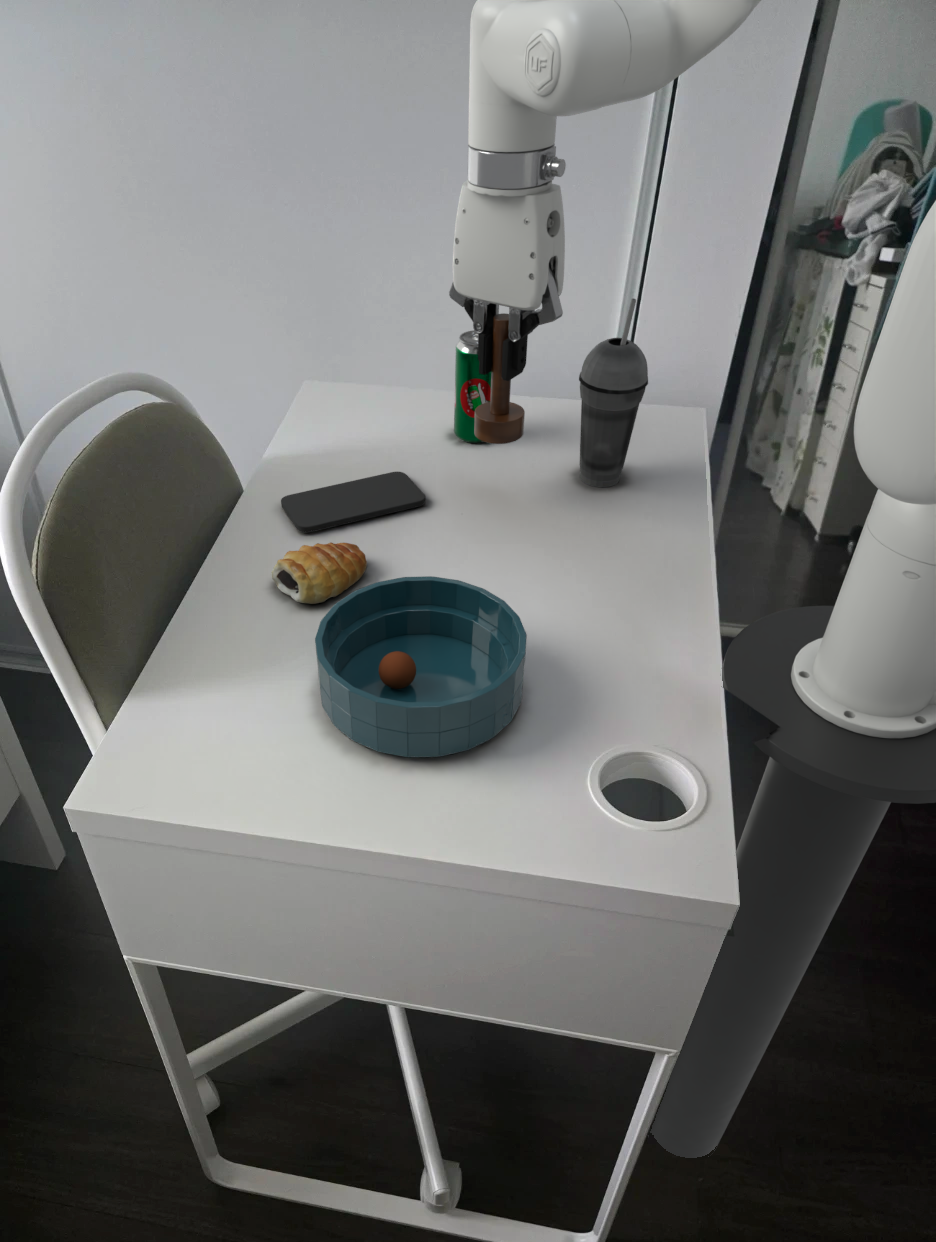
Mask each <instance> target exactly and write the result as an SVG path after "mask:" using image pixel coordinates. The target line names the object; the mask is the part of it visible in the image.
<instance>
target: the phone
mask: <svg viewBox="0 0 936 1242" xmlns="http://www.w3.org/2000/svg"><path fill="white" fill-rule="evenodd" d="M280 503H281V504H280V505H281V508H282V510H283V512H284V513H285V515H286V516H287V517H288V519H289V520H290V522H291V524H292V525H293V526H294V528H295V529H296V530H297V531H298V532H300V533H313V532H317V531H321V530H325V529H330V528H333V527H338V526H342V525H347V524H351V523H355V522H360V521H363V520H368V519H372V518H377V517H381V516H385V515H389V514H393V513H398V512H403V511H406V510H410V509H415V508H419V507H422V506H423V505H425V503H426V494H425V493H424V492H423V491H422V489H420V488H419V486H418V485H417V484H416V483H415V482H414V481H413V480H412V479H411V477H409V475H408V474H407V473H405V472H403V471H390V472H387V473H381V474H377V475H372V476H368V477H364V478H360V479H355V480H350V481H345V482H341V483H336V484H332V485H328V486H327V485H326V486H324V487H319V488H314V489H309V490H305V491H300V492H296V493H291V494H288V495H285V496H283V497H282V498H280Z"/></svg>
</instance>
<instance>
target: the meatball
mask: <svg viewBox="0 0 936 1242" xmlns="http://www.w3.org/2000/svg"><path fill="white" fill-rule="evenodd" d="M415 675H416V665H415V662H414V660H413V659H412V658H411V657H410V656H409V655H408V654H406V653H404V652H400V651H395V652H391V653H389V654H387V655H386V656H385V657H384V658H383V659H382V660H381V662H380V665H379V676H380V678H381V680H382V682H383V683H384V684H385V685H387V686H388V687H390V688H393V689H402V688H405V687H407V686H408V685H410V684H411V683H412V681H413V680H414V678H415Z"/></svg>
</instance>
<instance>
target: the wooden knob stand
mask: <svg viewBox="0 0 936 1242" xmlns="http://www.w3.org/2000/svg"><path fill="white" fill-rule="evenodd" d="M508 330H509V313H503V312H502V313H499V314H497V315H495V316H494V319H493V346H492V373H491V400H490V402H487V403H484V404H481V405H479V406H478V407H477V408H476V409H475V422H474V434H475V436H476V437H477V438H478V439H480V440H481V441H484V442H483V443H487V444H493V445H505V444H511V443H515V442H517V441H518V440H520V439H521V438H522V437H523V436H524V428H525V416H526V411H525V408H523V406H521V405H520V404H518V403H515V402H511V388H512V387H511V385H512V379H511V380H509V381H505V380H503V378H502V377H501V376H502V352H503V342H504V340H506V339H508V338H509V336H508Z"/></svg>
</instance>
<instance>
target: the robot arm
mask: <svg viewBox="0 0 936 1242" xmlns="http://www.w3.org/2000/svg"><path fill="white" fill-rule="evenodd" d="M761 1H762V0H476V1H475V2H474V5H473V7H472V10H471V14H470V19H469V20H470V23H469V68H468V69H469V72H468V73H469V74H468V77H469V79H468V127H467V128H468V131H467V132H468V133H467V134H468V135H467V140H468V141H467V179H466V180H465V181H463V182H462V185H461V189H460V193H459V198H458V204H457V209H456V216H455V223H454V224H455V225H454V235H453V245H452V246H453V247H452V283H451V285H450V289H449V291H448V296H449V298H450V299H451V300H452V301H454V302H455V303H456V304H458V305H459V306H460V307H462V308H464V311H465V312H466V314H467V315H468V317H469V318H470V320H471V321H472V327H473V330H474V331H475V332H476V333H479V336H478V360H479V373H480V374H483V375H486V374H488V373H489V372H491V371H492V346H493V319H494V316H495V315H497V314H500V312H499V311H500V306H502V307H507V308H508V314H509V330H508V336H509V338H508V339H506V340H504V342H503V352H502V376H501V377H502V378H503V380H505V381H509V380H511V381H512V380H513V379H514V378H517V376H520V375H521V374H522V373H523V372H524V370H525V368H526V365H527V357H528V356H527V353H528V341H529V340H528V339H529V338H528V337H529V335H531V334H532V333H533V332H534V330H535V329H536V328H537V327H539V326H542V325H546V324H549V323H553V322H555V321H557V320H558V319H560V318H561V317H563V314H564V311H563V307H562V302H561V299H560V296H561V295H562V293H563V289H564V282H565V281H564V279H565V259H566V258H565V257H566V255H565V254H566V248H565V247H566V244H565V243H566V238H565V237H566V236H565V234H566V232H565V215H564V203H563V197H562V196H563V195H562V189H561V185H559V184H556V183H553V181H554V179H555V177H557V178H562V177H563V176H564V174H565V172H566V168H567V167H566V166H567V164H566V160H565V159H562V158H558V156H557V155H556V153H557V146H556V133H557V120H558V119H557V117H570V116H575V115H580V114H584V113H588V112H593V111H597V110H599V109H602V108H605V107H610V106H613V105H617V104H622V103H627V102H632V101H635V100H640V99H643V98H645V97H648V96H650V95H651V94H654V93H656V92H658V91H659V90H661V89H663V88H664V87H665V86H667V85H669V84H670V83H671V82H673V81H675V80H676V79H677V78H678V77H680V76H681V75H682V74H684V73H685V72H686V71H688V70H689V69H690V68H692V67H694V65H695V64H697V63H698V62H699V61H701V60H702V59H703V58H705V57H706V56H707V55H709V54H710V53H711V52H712V51H714V50H715V49H716V48H717V47H719V46H720V45H721V44H723V43H724V42H725V41H726V40H727V39H728V38H730V36H732V35H733V34H734V33H735V32H736V31H737V30H738V29H739V28H740V27H741V26H742V25H743V23H744V22H745V21H746V20H747V19H748V17H749V16H750V15H751V14H752V12H753V11H754V9H755V8H756V7H757V6H758V5H759V4H760V2H761ZM540 307H541V308H540ZM539 308H540V309H539ZM853 442H854V449H855V453H856V457H857V460H858V463H859V465H860V467H861V469H862V470H863V472H864V474H865V475H866V477H867V479H868V480H869V481H870V482H871V483H872V485H873V486H874V487H876V488H877V491H876V494H875V496H874V498H873V501H872V504H871V507H870V510H869V512H868V514H867V517H866V519H865V522H864V523H863V524H864V525H863V528H862V530H861V532H860V536H859V538H858V540H857V544H856V547H855V549H854V552H853V555H852V557H851V560H850V562H849V566H848V568H847V571H846V574H845V576H844V579H843V582H842V585H841V587H840V590H839V593H838V596H837V599H836V600H835V604H834V605H833V606H834V609H833V612H832V614H831V617H830V620H829V623H828V625H827V628H826V631H825V634H824V636H823V638H820V639H817V640H815V641H813V642H810V643H808V644H807V645H806V646H804V647H803V648H802V649H801V650H800V651H799V653H798V654H797V655H796V657H795V660H794V663H793V666H792V671H791V679H792V684H793V686H794V688H795V690H796V693H797V694H798V695H799V697H800V698H801V699H802V701H803V702H804V703H805V704H806V705H807V706H808V707H809V708H811V709H812V710H813V711H814V712H815V713H817V714H818V715H820V716H821V717H823V718H824V719H825V720H827V721H829V722H831V723H833V724H835V725H837V726H839V727H842V728H844V729H847V730H850V731H852V732H855V733H859V734H863V735H867V736H872V737H880V738H908V737H915V736H919V735H922V734H925V733H928V732H930V731H931V730H933V729H935V728H936V200H934V202H933V204H932V205H931V207H930V208H929V210H928V212H927V213H926V215H925V217H924V219H923V220H922V222H921V224H920V226H919V228H918V229H917V232H916V233H915V236H914V238H913V241H912V243H911V245H910V248H909V251H908V253H907V256H906V259H905V262H904V264H903V267H902V269H901V273H900V276H899V279H898V282H897V284H896V288H895V290H894V293H893V296H892V299H891V302H890V304H889V308H888V311H887V314H886V317H885V320H884V322H883V325H882V328H881V332H880V334H879V337H878V339H877V343H876V345H875V349H874V351H873V355H872V357H871V361H870V363H869V366H868V369H867V372H866V375H865V378H864V381H863V384H862V387H861V390H860V393H859V396H858V400H857V405H856V408H855V415H854V423H853Z"/></svg>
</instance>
